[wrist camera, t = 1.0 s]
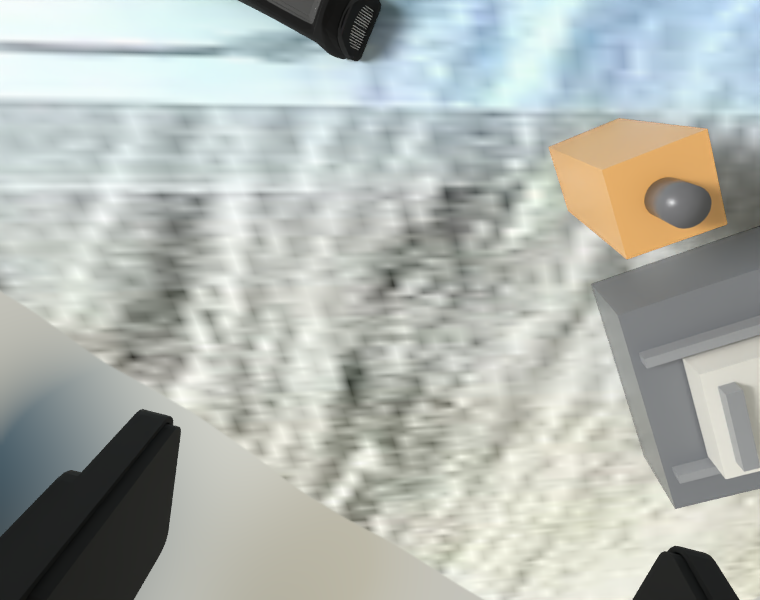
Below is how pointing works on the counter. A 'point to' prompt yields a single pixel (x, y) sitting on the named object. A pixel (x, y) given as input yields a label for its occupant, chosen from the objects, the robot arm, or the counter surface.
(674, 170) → the plug
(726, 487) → the socket
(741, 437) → the shutter
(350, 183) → the counter surface
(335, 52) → the electric trimmer
